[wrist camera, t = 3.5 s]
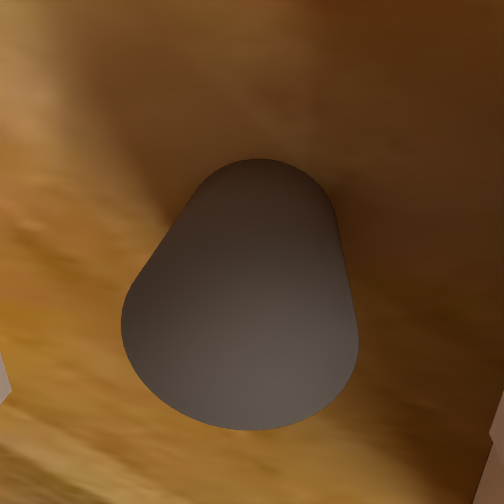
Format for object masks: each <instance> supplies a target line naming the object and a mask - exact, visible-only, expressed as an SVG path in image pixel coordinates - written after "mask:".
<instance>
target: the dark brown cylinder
mask: <svg viewBox="0 0 504 504" xmlns="http://www.w3.org/2000/svg"><path fill="white" fill-rule="evenodd" d="M121 334H122V339H123V344H124V348H125V351H126V353H127V356H128V359H129V361H130V363H131V365H132V366H133V368H134V370H135V372H136V373H137V375H138V376H139V377H140V379H141V380H142V381H143V383H144V384H145V385H146V386H147V387H148V388H149V389H150V390H151V391H152V392H153V393H154V394H155V395H156V396H157V397H158V398H159V399H161V400H162V401H163V402H165V403H166V404H168V405H169V406H170V407H172V408H174V409H175V410H177V411H179V412H180V413H182V414H184V415H186V416H188V417H191V418H193V419H195V420H198V421H201V422H203V423H206V424H209V425H213V426H217V427H221V428H228V429H234V430H266V429H273V428H279V427H283V426H287V425H291V424H293V423H296V422H299V421H302V420H304V419H306V418H308V417H310V416H312V415H314V414H315V413H317V412H318V411H320V410H321V409H323V408H325V407H326V406H327V405H328V404H329V403H330V402H332V401H333V400H334V399H335V398H336V397H337V396H338V394H339V393H340V392H341V391H342V390H343V388H344V387H345V385H346V384H347V382H348V381H349V379H350V377H351V375H352V372H353V370H354V368H355V364H356V360H357V357H358V348H359V335H358V326H357V321H356V316H355V311H354V306H353V301H352V296H351V291H350V286H349V281H348V275H347V270H346V265H345V260H344V255H343V250H342V245H341V240H340V235H339V230H338V225H337V220H336V216H335V212H334V209H333V207H332V204H331V202H330V200H329V198H328V197H327V195H326V193H325V192H324V191H323V189H322V188H321V187H320V186H319V185H318V184H317V183H316V182H315V181H314V180H313V179H312V178H311V177H309V176H308V175H307V174H305V173H304V172H302V171H301V170H299V169H297V168H295V167H293V166H291V165H288V164H286V163H282V162H278V161H274V160H267V159H250V160H243V161H239V162H235V163H232V164H229V165H227V166H225V167H222V168H221V169H219V170H217V171H216V172H214V173H213V174H212V175H210V176H209V177H208V178H207V179H205V181H204V182H203V183H202V184H201V185H200V186H199V187H198V189H197V190H196V192H195V193H194V195H193V196H192V197H191V199H190V200H189V202H188V203H187V205H186V206H185V208H184V209H183V211H182V212H181V214H180V215H179V216H178V218H177V219H176V221H175V222H174V224H173V225H172V227H171V228H170V230H169V231H168V232H167V234H166V235H165V237H164V238H163V240H162V241H161V243H160V244H159V246H158V247H157V249H156V250H155V251H154V253H153V254H152V256H151V257H150V259H149V260H148V262H147V263H146V265H145V266H144V267H143V269H142V270H141V272H140V273H139V275H138V276H137V278H136V279H135V281H134V282H133V283H132V285H131V287H130V289H129V291H128V293H127V295H126V298H125V302H124V305H123V309H122V317H121Z"/></svg>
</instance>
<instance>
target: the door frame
mask: <svg viewBox="0 0 504 504" xmlns="http://www.w3.org/2000/svg"><path fill="white" fill-rule="evenodd" d="M472 504H504V465H503V462H502V460H501V458H500V456H499V454H498V452H497V450H496V447H495V445H494V443H493V445H492V448H491V451H490V454H489V457H488V460H487V463H486V465H485V468H484V471H483V474H482V477H481V480H480V483H479V486H478V489H477V492H476V495H475V498H474V501H473V503H472Z"/></svg>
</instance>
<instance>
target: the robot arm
mask: <svg viewBox="0 0 504 504" xmlns="http://www.w3.org/2000/svg"><path fill="white" fill-rule="evenodd" d="M11 391H12V390H11V386H10V383H9V380H8V377H7V373H6V370H5V367H4V364H3V360H2V357H1V354H0V404H1V403H2V402H3V400H4V399H5V398H6V397H7V396H8V394H9V393H10V392H11ZM489 435H490V437H491V439H492V441H493V443H494V445H495V447H496V450H497V452H498V454H499V456H500V458H501V460H502V462H503V465H504V391H503V394H502V397H501V400H500V403H499V406H498V409H497V412H496V414H495V417H494V420H493V423H492V426H491V429H490V432H489Z"/></svg>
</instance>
